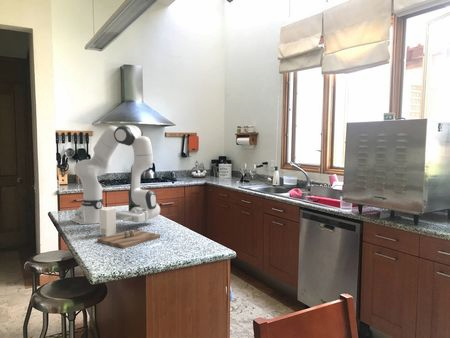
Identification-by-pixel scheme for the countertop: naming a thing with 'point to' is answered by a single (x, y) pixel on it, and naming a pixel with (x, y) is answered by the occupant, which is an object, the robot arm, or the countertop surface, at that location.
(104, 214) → the housing
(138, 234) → the stub board
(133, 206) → the coffee jar
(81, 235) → the countertop surface
